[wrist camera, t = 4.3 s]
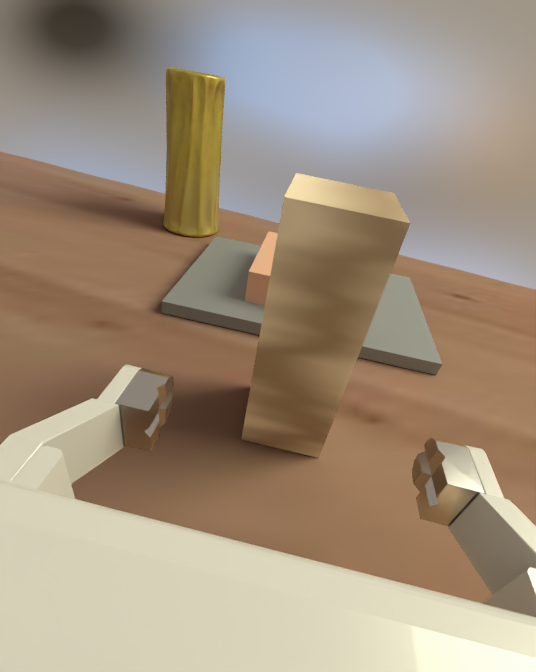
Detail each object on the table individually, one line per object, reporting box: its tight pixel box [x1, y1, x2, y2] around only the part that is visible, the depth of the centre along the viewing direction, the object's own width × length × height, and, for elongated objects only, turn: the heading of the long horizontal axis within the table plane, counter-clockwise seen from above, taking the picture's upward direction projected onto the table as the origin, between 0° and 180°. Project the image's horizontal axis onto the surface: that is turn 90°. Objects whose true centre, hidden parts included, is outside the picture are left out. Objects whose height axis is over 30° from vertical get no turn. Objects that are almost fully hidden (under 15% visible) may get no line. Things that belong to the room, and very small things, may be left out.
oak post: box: [241, 173, 410, 458], centre depth 16 cm, size 4×4×12 cm
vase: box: [163, 67, 225, 237], centre depth 36 cm, size 6×6×14 cm
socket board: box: [162, 232, 442, 375], centre depth 30 cm, size 20×14×4 cm
